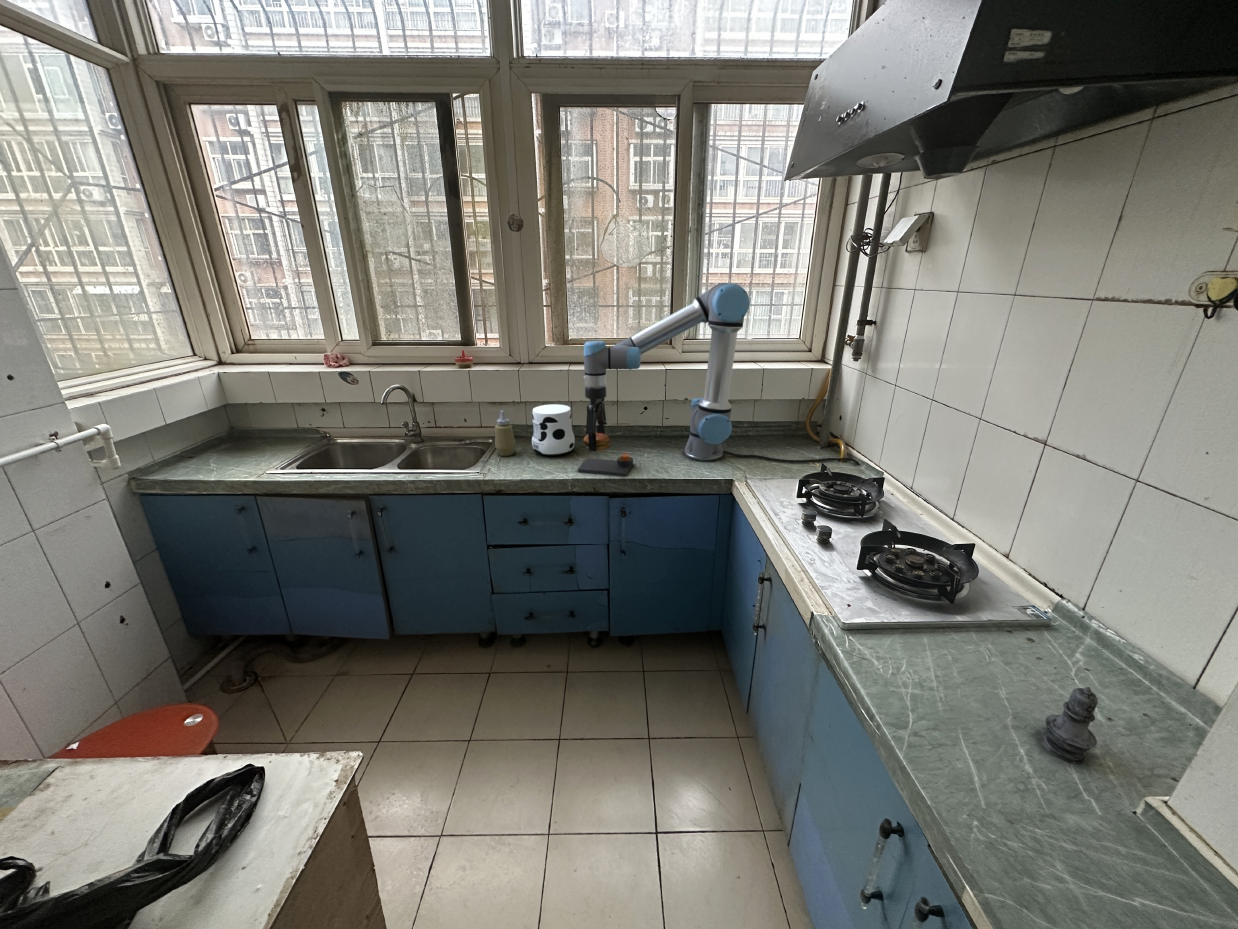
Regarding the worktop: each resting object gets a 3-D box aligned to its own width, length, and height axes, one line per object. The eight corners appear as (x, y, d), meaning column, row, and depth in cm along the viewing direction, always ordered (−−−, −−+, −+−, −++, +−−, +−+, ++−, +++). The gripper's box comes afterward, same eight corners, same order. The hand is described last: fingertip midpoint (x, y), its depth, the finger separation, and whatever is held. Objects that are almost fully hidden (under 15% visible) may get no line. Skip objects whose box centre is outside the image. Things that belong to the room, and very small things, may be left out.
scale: (634, 464, 190) (634, 456, 189) (626, 476, 179) (626, 468, 178) (588, 460, 194) (588, 453, 193) (578, 472, 183) (577, 464, 182)
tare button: (630, 458, 188) (630, 454, 187) (628, 461, 185) (628, 457, 185) (622, 458, 189) (622, 453, 188) (620, 460, 186) (620, 456, 185)
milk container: (579, 445, 211) (578, 404, 204) (568, 460, 195) (566, 415, 188) (540, 443, 214) (537, 403, 207) (526, 457, 198) (523, 413, 191)
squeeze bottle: (519, 454, 201) (515, 411, 195) (500, 458, 197) (496, 414, 190) (511, 449, 207) (507, 407, 201) (493, 453, 203) (488, 410, 197)
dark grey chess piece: (1047, 758, 74) (1072, 696, 70) (1032, 726, 79) (1055, 667, 75) (1096, 771, 72) (1126, 708, 68) (1078, 738, 77) (1104, 677, 73)
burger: (603, 441, 189) (603, 429, 187) (614, 448, 181) (613, 436, 179) (579, 445, 185) (579, 433, 183) (588, 452, 177) (588, 440, 176)
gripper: (594, 379, 186) (596, 436, 194) (574, 392, 166) (577, 455, 174) (614, 380, 184) (614, 437, 192) (596, 393, 164) (597, 457, 172)
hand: (596, 446), depth 183 cm, fingers closed on burger, 10 cm apart
